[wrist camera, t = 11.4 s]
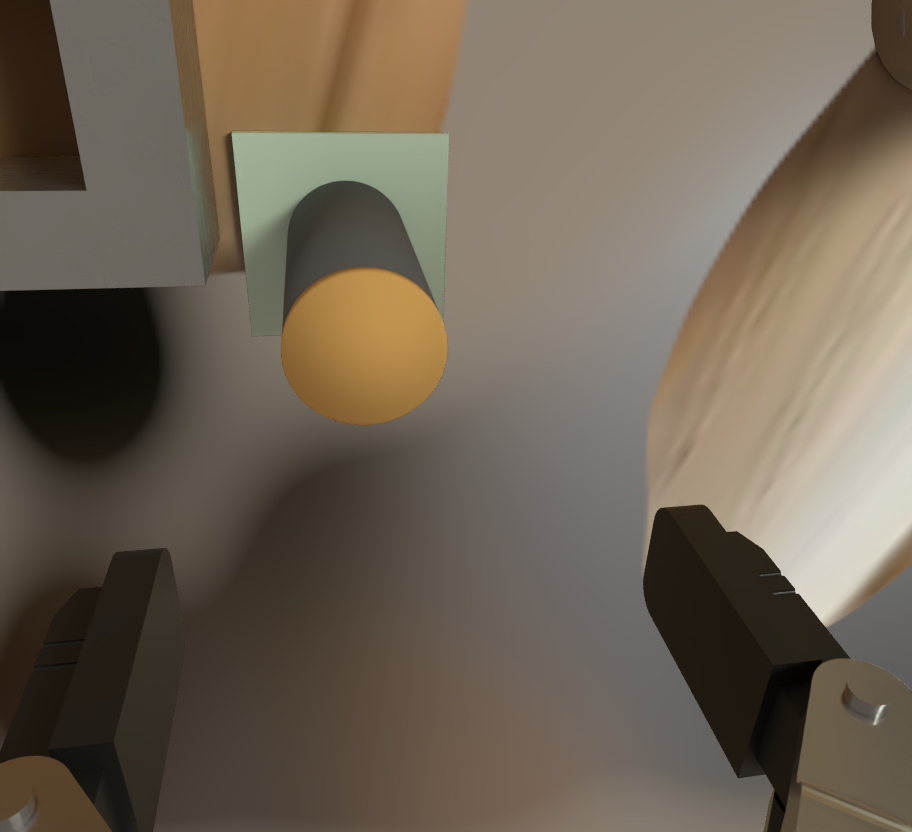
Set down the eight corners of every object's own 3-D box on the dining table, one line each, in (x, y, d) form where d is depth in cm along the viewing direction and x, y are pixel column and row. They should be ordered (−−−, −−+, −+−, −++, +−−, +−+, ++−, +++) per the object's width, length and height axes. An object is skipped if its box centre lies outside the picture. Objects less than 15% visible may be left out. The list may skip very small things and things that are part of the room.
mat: (447, 132, 33) (449, 134, 33) (441, 326, 38) (443, 329, 37) (232, 131, 32) (231, 132, 32) (252, 333, 36) (252, 336, 36)
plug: (405, 180, 34) (450, 271, 23) (405, 293, 36) (445, 420, 26) (283, 180, 33) (274, 275, 23) (291, 296, 35) (287, 429, 25)
